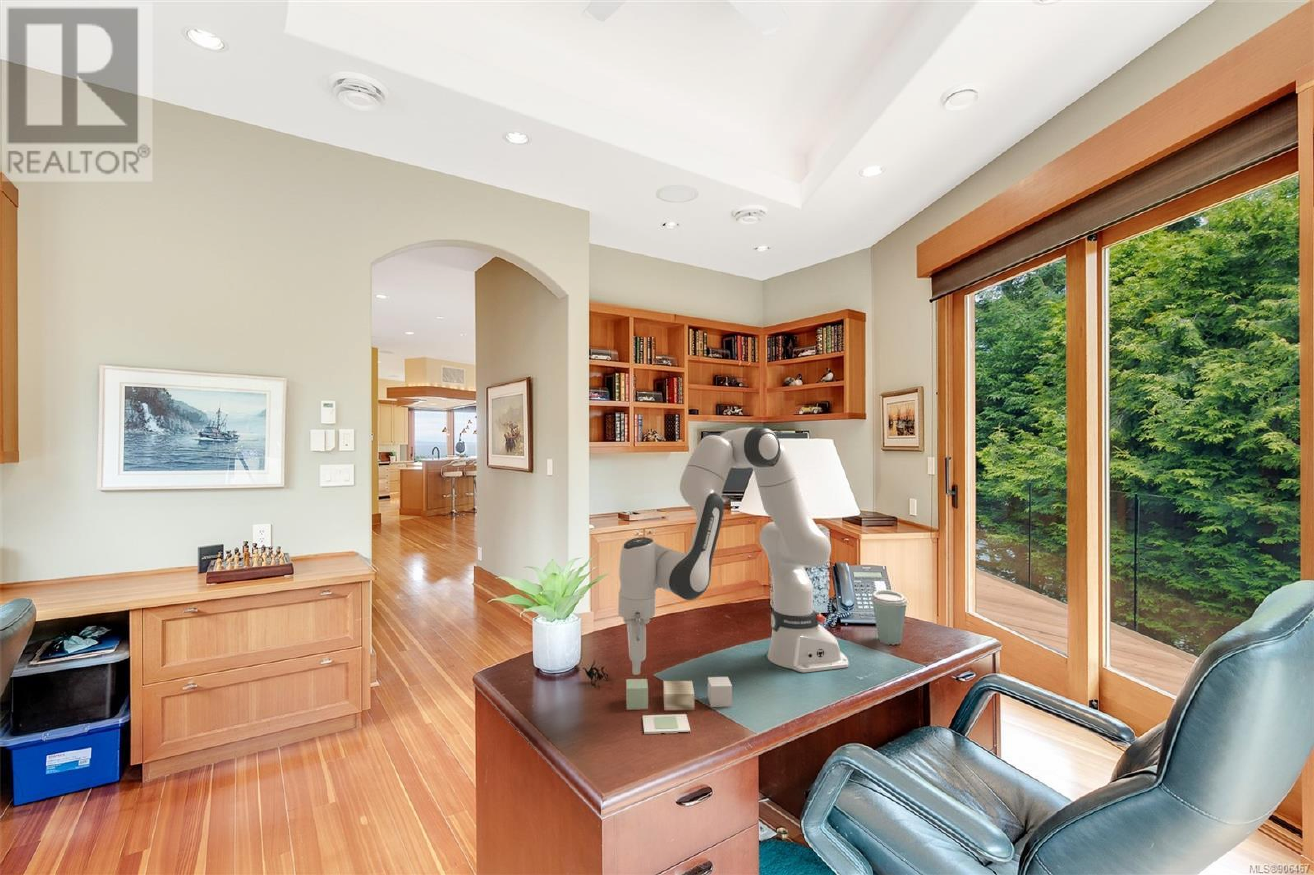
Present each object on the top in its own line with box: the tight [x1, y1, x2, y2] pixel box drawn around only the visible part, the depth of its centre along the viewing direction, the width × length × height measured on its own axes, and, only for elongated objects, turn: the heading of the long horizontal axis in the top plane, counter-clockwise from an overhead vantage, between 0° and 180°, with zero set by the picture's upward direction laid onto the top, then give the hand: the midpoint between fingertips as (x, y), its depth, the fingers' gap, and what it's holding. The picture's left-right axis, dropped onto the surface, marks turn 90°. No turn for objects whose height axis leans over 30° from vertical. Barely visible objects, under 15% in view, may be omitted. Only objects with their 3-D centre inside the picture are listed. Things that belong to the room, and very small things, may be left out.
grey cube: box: [707, 676, 733, 708], centre depth 134 cm, size 5×5×5 cm
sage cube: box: [625, 678, 649, 711], centre depth 132 cm, size 5×5×5 cm
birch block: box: [662, 680, 695, 711], centre depth 133 cm, size 7×7×4 cm
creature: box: [582, 659, 614, 691], centre depth 143 cm, size 8×5×8 cm
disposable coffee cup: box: [870, 589, 908, 646], centre depth 174 cm, size 11×11×15 cm
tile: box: [642, 713, 691, 735], centre depth 122 cm, size 10×7×1 cm
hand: (635, 665), depth 132 cm, fingers open, 8 cm apart
